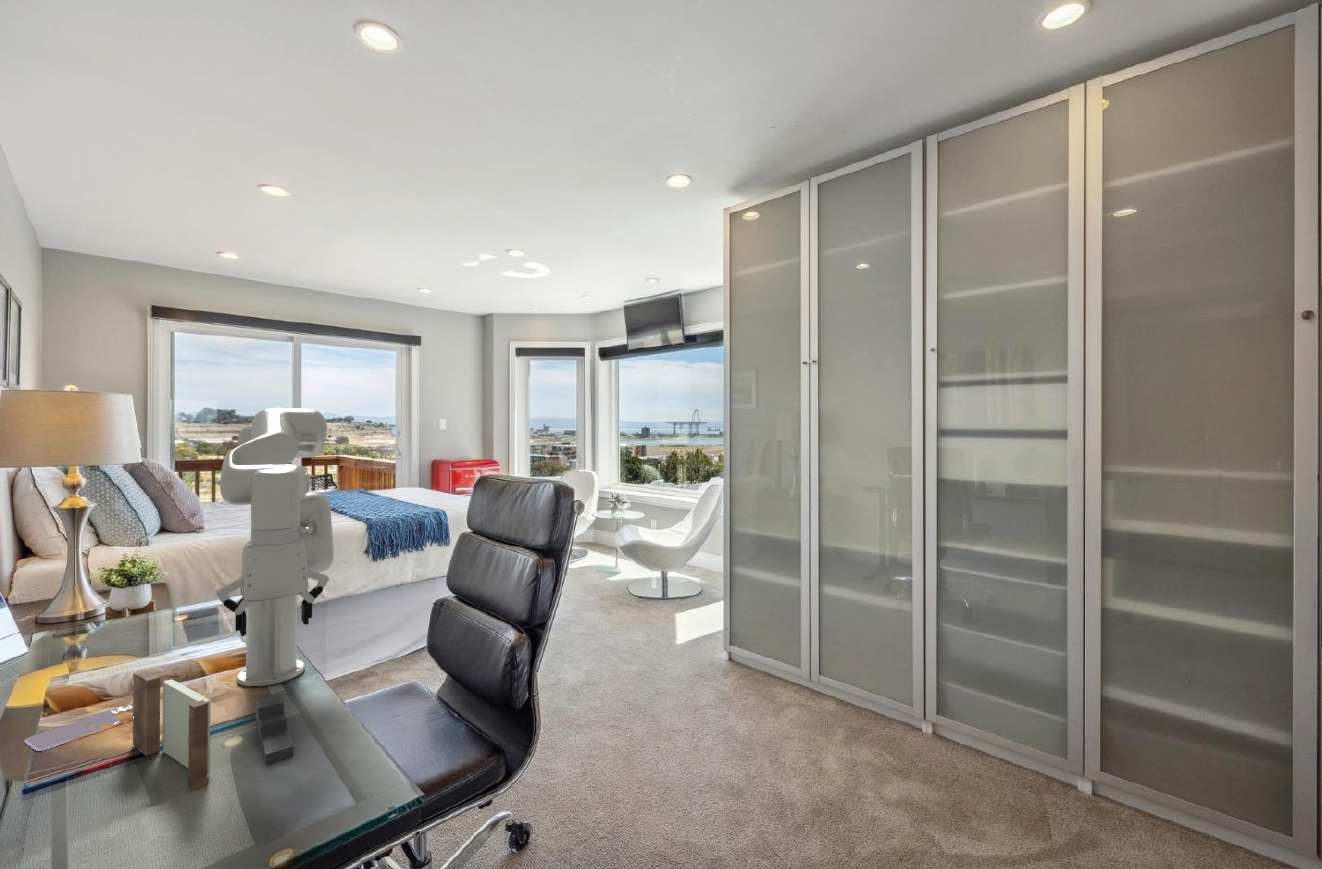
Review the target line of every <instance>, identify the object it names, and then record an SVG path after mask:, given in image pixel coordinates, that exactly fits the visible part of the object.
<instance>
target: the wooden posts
mask: <svg viewBox="0 0 1322 869" xmlns="http://www.w3.org/2000/svg"><path fill="white" fill-rule="evenodd" d="M132 675H133V681H132V682H133V683H132V684H133V687H132V691H133V694H132V700H133V701H132V702H133V703H132V706H133V721H132V746H133V745H134V746H135V747H136V748H137V749H140V750H141V751H142V754H143V755H144V756H145V757H149V756H151V755H154V754H155V753H159V752H160V751H161V749H160V748H161V676H160V675H158V674H156V673H154V672H152V671H151V670H149V669H147V668H146V669H143V670H139V671H135V672H133V674H132ZM135 747H134V748H135ZM136 748H135V749H136ZM137 749H136V750H137ZM207 758H208V703H207V702H206V701H204V700H201V701H198V702H195V703H192V704H189V764H188V768H187V769H188V773H187V774H188V784H187V785H188V786H187V787H188V788H190V789H191V790H192V791H195V790H197V789H200V788H203V787H205V786H206V785H208V775H207Z"/></svg>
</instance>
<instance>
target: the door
mask: <svg viewBox="0 0 1322 869" xmlns="http://www.w3.org/2000/svg"><path fill="white" fill-rule="evenodd" d="M201 700H204V701H206V702H207V703H208V758H207V776H208V775H210V774H211V699H209V698H207V697H206V696H203V695H202V694H200V693H198V692H197V691H194V690H193V689H191V688H189V687H187V686H185V685H183V684H182V683H179V682H178V681H176V680H174V679H166V680H163V681H162V735H161V736H162V738H161V739H162V741H161V742H162V747H161V748H162V751H163V752H164V754H166V755H168V756H169V757H171V758H172V759H174V760H176V762H178V763H180V764H181V765H183V766H184V767H185V768H187V769H188V764H189V704H192V703H195V702H198V701H201Z"/></svg>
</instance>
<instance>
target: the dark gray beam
mask: <svg viewBox="0 0 1322 869" xmlns="http://www.w3.org/2000/svg"><path fill="white" fill-rule="evenodd" d="M255 728H256V732H257V736H258V740H259V744H260V749H261V753H262V757H263V760H264V761H263V762H264V764H265V767H267V766H270V765H274V764H277V763H280V762H283V761H287V760H290V759H294V758H295V744H294V742H293V739H292V736H291V733H290V731H289V728H288V717H287V714H286V711H285V700H284V697H283V695H282V693H280V694H276V695H271V696H269V697H267V696H266V697H264V698H260V699H256V700H255Z"/></svg>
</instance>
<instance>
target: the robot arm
mask: <svg viewBox="0 0 1322 869" xmlns="http://www.w3.org/2000/svg"><path fill="white" fill-rule="evenodd" d="M327 427H328V426H327V422H326V419H325V416H324V415H323V414H322V413H321V412H320V411H318V410H316V409H312V408H291V407H290V408H286V407H283V408H282V407H274V408H273V407H272V408H265V409H262V410H261V411H259V412H257V413H256V414H255V415H254V417H253V418H252V421H251V424H248V425H246V426H244V427H243V428H241V430H240V431H239V433H238V437H237V440H238V441H237V445H238V446H237V447H235V448H232V450H231V451H229V452H228V453H227V454H226V456H225V458H224V459H223V462H222V466H221V471H220V472H221V474H220V478H219V479H220V482H219V491H220V495H221V498H222V499H223V500H224V502H226V503H227V504H229V505H233V506H245V505H246V506H247V505H250V540H249V541H247V542H246V543H245V544H244V546H243V548H242V552H241V561H242V563H241V573H240V577H239V578H238V579H235V580H233V581H232V582H230V583H228V584H226V585H224V586H223V587H220V588H219V589H217V590H216V591H215V594H216V596H217V598H218V599H219V601H220V603H222V605H223V606H224V608H227V609H228V610H229V611H231V612H232V613H234V614H235V617H234V618H235V619H234V620H235V622H234V623H235V624H234V628H235V632H239V634H240V637H245V641H246V642H245V668H244V669H242V670H241V671H240V672H238V674H237V676H236V677H237V678H236V681H237V683H238V685H241V686H243V685H244V686H245V687H250V686H258V687H265V686H271V685H276V684H281V683H284V682H287V681H289V680H291V679H294V678H296V677H297V676H299V675H300V674H302V673H303V672H304V670H305V662H303V661H302V660H301V659H298V658H297V657H298V656H297V654H298V652H297V651H298V650H297V649H298V648H297V647H298V645H297V644H298V643H297V642H298V636H297V635H298V631H297V630H298V596H300V597H301V598H302V601H301V614H300V615H301V622H302V623H303V625H305V626H306V625H307V626H308V625H309V624H310V623H309V622H310V621H309V619H312V618H313V603H314V602H315V600H316V599H317V598H318V597H319V596H320V595H321V593H323V591H324V589H325V587H326V585H327V583H329V580H330V577H329V576H328V575H327V574H325V573H324V572H326V571H327V570H330V568H331V567H332V565H333V563H334V556H335V555H334V538H333V537H334V536H333V524H332V511H331V505H330V501H329V499H328V497H327V496H326V495H325V494H323V493H320V492H310V489H311V486H310V485H311V479H310V478H311V477H310V474H309V472H307V470H306V469H305V467H303V466H301V465H297V464H290V463H291V462H293V461H294V460H295V459H296V458H297V459H298V458H307V459H308V458H314V457H315V458H316V457H318V456H319V455H321V453H322V452H323V450H324V446H325V443H326V440H327V434H328V428H327ZM309 579H312V580H315V581H317V583H316V585H315V586H314V587H313V588H312V589H311V590H310V591H308V589H309ZM239 588H240V594H241V597H240V599H239V600H238V601H237V602H236V601H235V600H233V599H232V598H231V597H230V596H229V594H230V593H233V592H235V591H236V590H237V589H239Z"/></svg>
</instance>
